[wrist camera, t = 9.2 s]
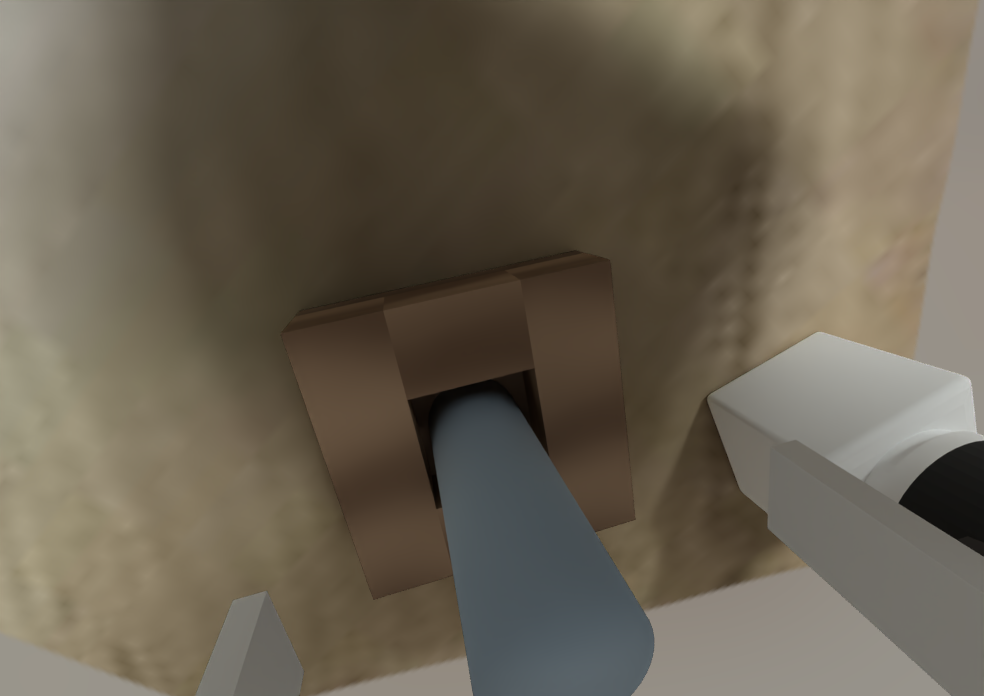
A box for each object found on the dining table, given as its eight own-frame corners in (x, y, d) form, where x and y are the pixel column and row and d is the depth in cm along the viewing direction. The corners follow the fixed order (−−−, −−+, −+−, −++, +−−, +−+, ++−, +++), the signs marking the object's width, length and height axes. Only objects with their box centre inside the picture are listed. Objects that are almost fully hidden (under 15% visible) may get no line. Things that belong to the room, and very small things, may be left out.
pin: (419, 389, 20) (453, 628, 9) (508, 367, 21) (647, 565, 9) (439, 468, 21) (492, 762, 10) (522, 445, 22) (659, 700, 11)
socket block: (299, 311, 19) (280, 333, 16) (575, 250, 21) (610, 259, 17) (376, 543, 23) (373, 599, 20) (603, 477, 25) (635, 519, 21)
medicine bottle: (738, 492, 27) (985, 699, 16) (702, 394, 24) (965, 559, 13) (843, 430, 27) (1160, 591, 16) (818, 327, 25) (1173, 433, 13)
